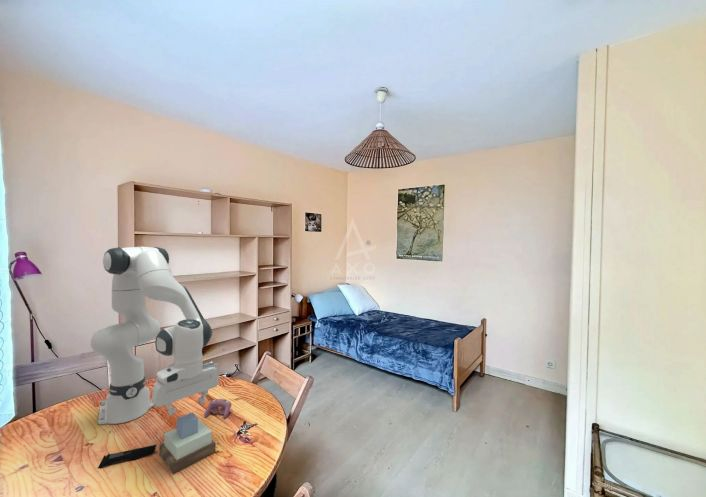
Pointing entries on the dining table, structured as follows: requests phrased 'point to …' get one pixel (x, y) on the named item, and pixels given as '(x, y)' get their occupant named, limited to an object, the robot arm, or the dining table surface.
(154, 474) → the dining table surface
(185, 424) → the blue cube
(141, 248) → the robot arm
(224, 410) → the video game controller
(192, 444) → the sage slab
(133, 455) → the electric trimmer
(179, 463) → the walnut slab
